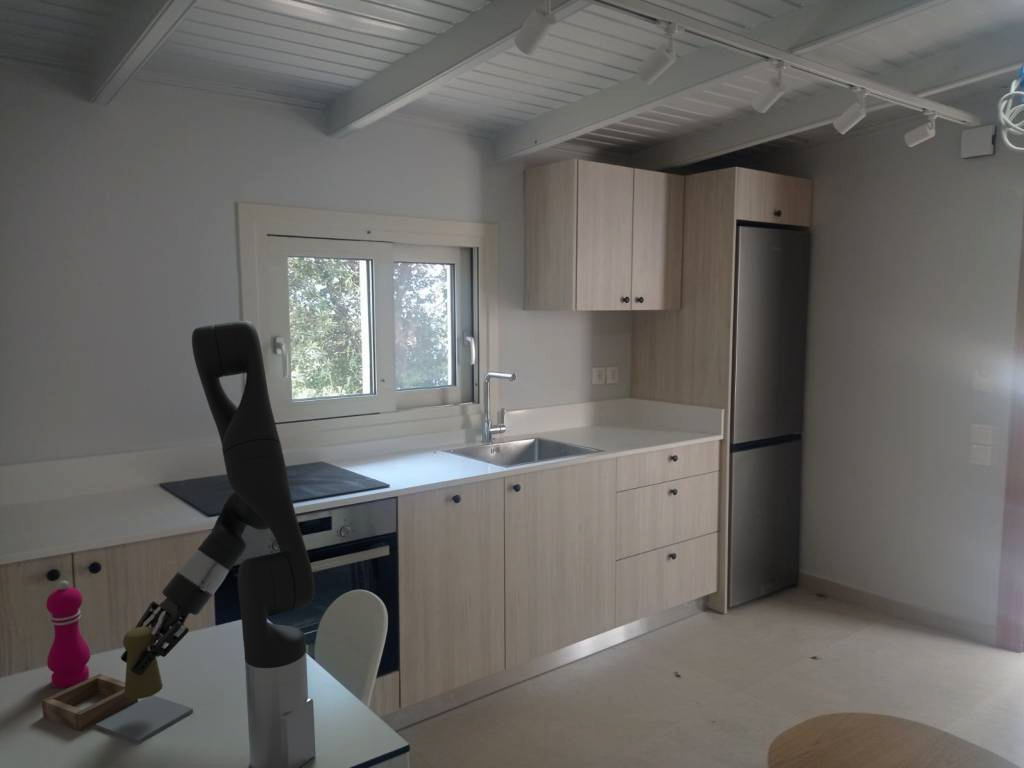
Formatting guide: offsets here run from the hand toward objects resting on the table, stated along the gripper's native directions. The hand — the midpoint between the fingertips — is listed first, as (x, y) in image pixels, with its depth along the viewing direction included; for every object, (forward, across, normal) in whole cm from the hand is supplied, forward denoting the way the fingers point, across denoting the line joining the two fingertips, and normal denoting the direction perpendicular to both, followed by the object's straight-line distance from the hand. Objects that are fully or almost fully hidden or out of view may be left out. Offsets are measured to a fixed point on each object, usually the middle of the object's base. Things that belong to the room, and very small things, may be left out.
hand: (130, 666), depth 130 cm
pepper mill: (+11, -25, +5) cm, 28 cm away
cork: (+2, 0, +5) cm, 5 cm away
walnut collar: (+10, -10, +4) cm, 15 cm away
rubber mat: (+6, 0, +8) cm, 10 cm away
